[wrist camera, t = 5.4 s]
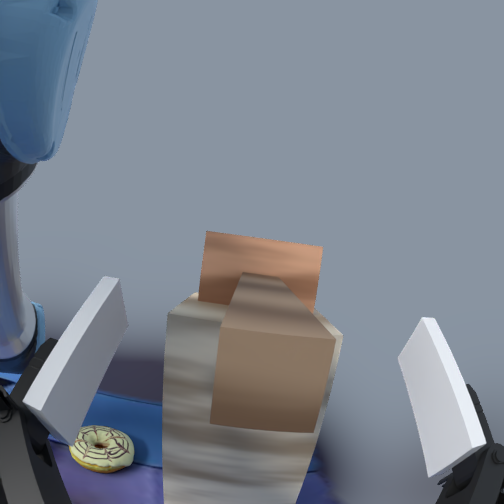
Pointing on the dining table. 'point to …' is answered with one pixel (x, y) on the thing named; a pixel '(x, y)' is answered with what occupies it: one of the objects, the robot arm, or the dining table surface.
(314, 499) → the dining table surface
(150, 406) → the dining table surface
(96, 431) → the decorated donut
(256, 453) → the stand
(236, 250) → the wooden mallet
